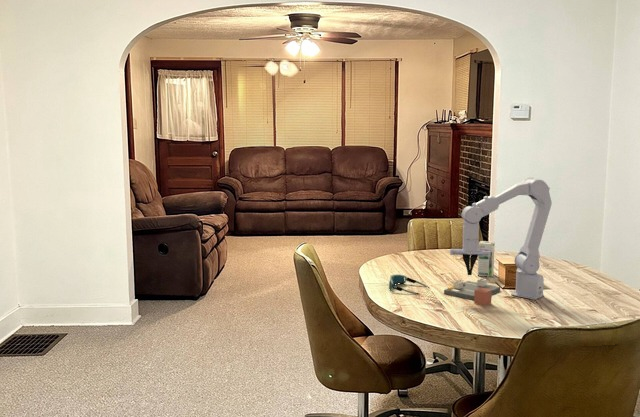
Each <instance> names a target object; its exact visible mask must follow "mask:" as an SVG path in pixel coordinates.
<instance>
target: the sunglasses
mask: <svg viewBox="0 0 640 417" xmlns="http://www.w3.org/2000/svg"><path fill="white" fill-rule="evenodd" d="M406 282H409V283H412V284H415V283H417V284H419V285H421V286H423V287H424V288H426V287H428V288H427V289H430V286H428V285H427V284H424V283H423V282H421V281H419V280H416V279H413V278H412V277H411V278H410V277H407V276H406V275H403V274H392V275H389V282H388V290H389V289H390V290H391V291H390V290H389V291H390V292H393V290H396V291H399V292H403V291H404V292H405V293H409V294H413V295H421V293H419V292H415V291H412V290H408V289H405V288H403V287H401V286H399V285H395V284H398V283H405V284H406Z"/></svg>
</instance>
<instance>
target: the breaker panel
mask: <svg viewBox="0 0 640 417" xmlns="http://www.w3.org/2000/svg"><path fill="white" fill-rule="evenodd" d="M479 288H484V289H490V290H492V293H491V296H492V295H494V294H496V293H499V292H500V291H501V286H496V285H493V284H492V285H491V284H487V285H486V286H484V287H481V286H477V281H471V280H466V281H463V288H460V289H456V288H453V286H447V288H446V289H444V290H443V294H444V295H449V296H453V297H458V298H463V299H466V300H473V301H474V290H476V289H479Z"/></svg>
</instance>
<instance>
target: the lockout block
mask: <svg viewBox="0 0 640 417" xmlns="http://www.w3.org/2000/svg"><path fill="white" fill-rule="evenodd" d="M491 293H492V290H490V289H484V288H479V289H476V290H474V300H473V304H475V305H479V306H484V307H486V306H489V305H490V304H492V295H491Z"/></svg>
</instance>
